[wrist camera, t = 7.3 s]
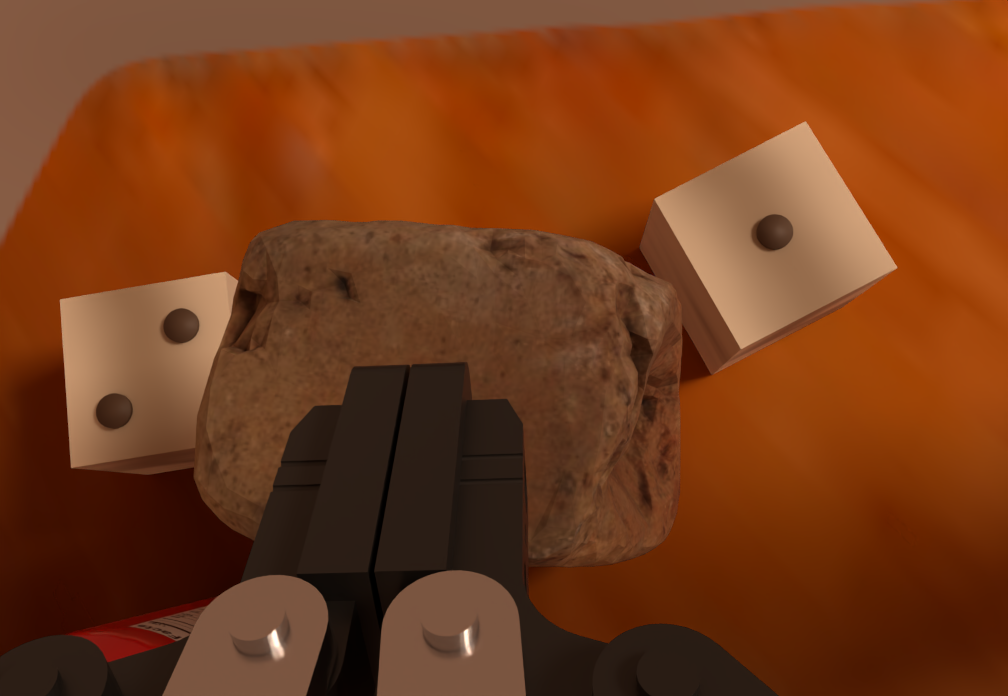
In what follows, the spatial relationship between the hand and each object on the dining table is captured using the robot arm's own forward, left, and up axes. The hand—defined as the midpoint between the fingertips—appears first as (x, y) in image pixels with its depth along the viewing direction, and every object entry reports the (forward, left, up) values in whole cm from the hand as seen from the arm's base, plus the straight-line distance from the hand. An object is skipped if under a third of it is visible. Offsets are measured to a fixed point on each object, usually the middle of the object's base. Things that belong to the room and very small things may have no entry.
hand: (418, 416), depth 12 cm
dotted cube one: (-11, -5, -24) cm, 27 cm away
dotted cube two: (+11, -7, -24) cm, 27 cm away
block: (0, -1, -24) cm, 24 cm away
